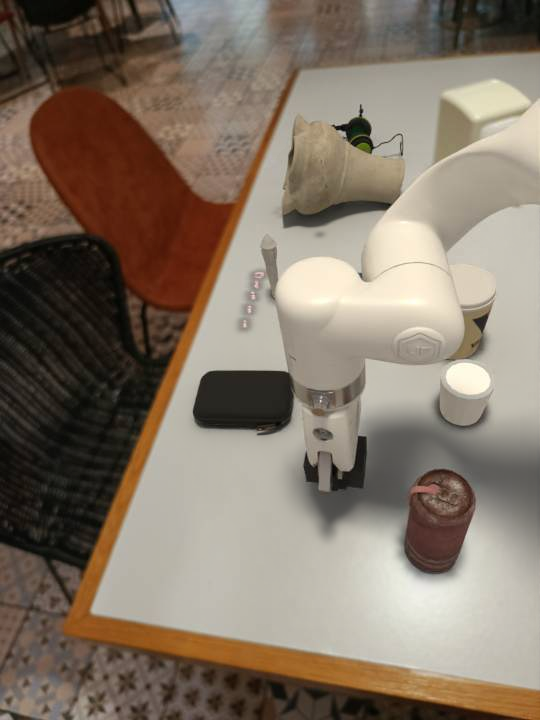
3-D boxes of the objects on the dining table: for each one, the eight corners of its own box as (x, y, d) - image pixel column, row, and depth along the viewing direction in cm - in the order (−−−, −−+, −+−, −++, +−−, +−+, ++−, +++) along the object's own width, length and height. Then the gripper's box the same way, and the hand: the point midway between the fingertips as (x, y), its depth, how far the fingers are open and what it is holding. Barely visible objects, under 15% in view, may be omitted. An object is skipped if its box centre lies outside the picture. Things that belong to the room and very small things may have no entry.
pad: (367, 453, 66) (366, 436, 63) (363, 489, 63) (362, 472, 60) (312, 447, 68) (309, 430, 65) (306, 482, 65) (303, 465, 62)
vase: (428, 112, 106) (291, 91, 105) (450, 145, 90) (289, 121, 89) (397, 212, 120) (277, 194, 119) (412, 257, 103) (272, 237, 102)
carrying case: (191, 434, 77) (290, 436, 75) (185, 422, 75) (288, 424, 72) (204, 378, 84) (296, 378, 81) (200, 365, 82) (294, 365, 79)
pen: (273, 292, 96) (262, 227, 85) (286, 295, 95) (277, 230, 84) (267, 301, 94) (255, 236, 84) (280, 304, 93) (270, 239, 83)
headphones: (405, 124, 111) (311, 133, 114) (403, 167, 118) (314, 173, 121) (399, 93, 121) (313, 101, 124) (397, 134, 129) (316, 140, 132)
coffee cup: (480, 369, 78) (495, 310, 69) (416, 358, 81) (423, 300, 72) (486, 326, 84) (501, 266, 75) (426, 317, 87) (434, 258, 78)
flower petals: (255, 272, 100) (255, 270, 100) (265, 272, 100) (265, 270, 99) (238, 328, 91) (238, 325, 90) (249, 328, 90) (249, 326, 90)
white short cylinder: (446, 383, 77) (453, 351, 72) (493, 401, 74) (503, 370, 69) (427, 416, 74) (432, 385, 69) (475, 437, 71) (484, 406, 65)
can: (398, 524, 64) (405, 466, 54) (452, 522, 63) (469, 463, 53) (405, 574, 60) (414, 522, 50) (462, 574, 59) (484, 520, 49)
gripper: (356, 450, 46) (360, 535, 59) (372, 314, 56) (373, 412, 70) (272, 441, 48) (295, 526, 61) (304, 311, 58) (317, 408, 72)
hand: (336, 465), depth 65 cm, fingers closed on pad, 5 cm apart
